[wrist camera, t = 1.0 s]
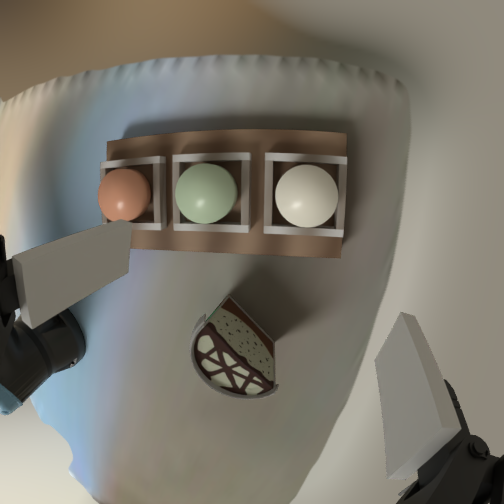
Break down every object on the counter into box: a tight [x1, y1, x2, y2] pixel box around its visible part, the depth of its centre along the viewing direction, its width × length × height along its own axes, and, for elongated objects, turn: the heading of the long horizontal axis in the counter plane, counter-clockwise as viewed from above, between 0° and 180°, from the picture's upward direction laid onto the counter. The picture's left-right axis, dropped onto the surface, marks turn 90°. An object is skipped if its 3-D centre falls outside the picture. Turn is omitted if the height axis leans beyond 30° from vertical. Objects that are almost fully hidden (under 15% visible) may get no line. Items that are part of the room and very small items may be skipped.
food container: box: [190, 295, 279, 400], centre depth 34 cm, size 12×6×10 cm, turn 42°
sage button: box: [175, 163, 238, 224], centre depth 29 cm, size 6×6×2 cm
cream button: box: [275, 165, 338, 228], centre depth 27 cm, size 6×6×2 cm
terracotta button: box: [98, 169, 151, 221], centre depth 30 cm, size 6×6×2 cm
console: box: [100, 129, 347, 258], centre depth 32 cm, size 29×14×5 cm, turn 89°
